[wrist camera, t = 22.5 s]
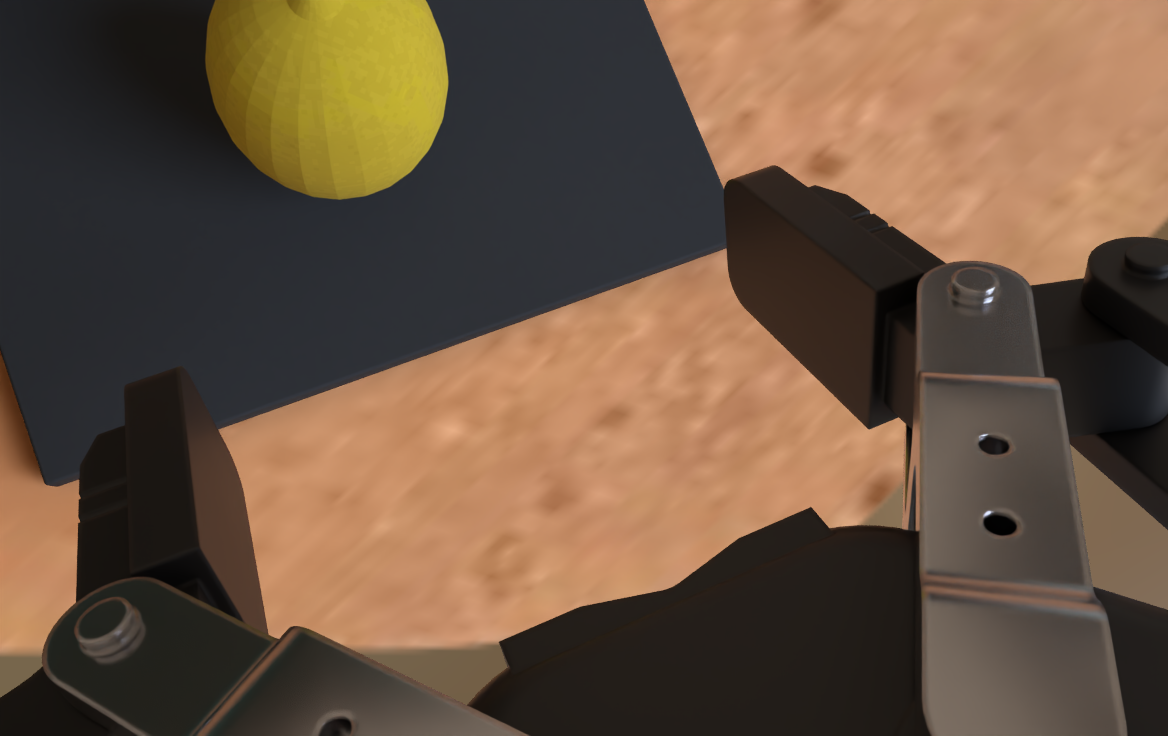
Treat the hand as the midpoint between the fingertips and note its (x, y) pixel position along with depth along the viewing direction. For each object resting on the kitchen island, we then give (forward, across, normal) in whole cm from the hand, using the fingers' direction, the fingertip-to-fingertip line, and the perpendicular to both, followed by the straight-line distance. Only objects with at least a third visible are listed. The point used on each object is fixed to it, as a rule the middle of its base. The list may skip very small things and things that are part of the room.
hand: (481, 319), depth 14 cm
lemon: (+15, 0, +3) cm, 15 cm away
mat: (+16, 0, +4) cm, 16 cm away
